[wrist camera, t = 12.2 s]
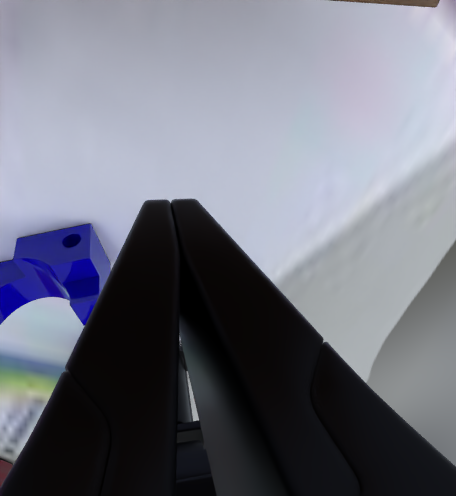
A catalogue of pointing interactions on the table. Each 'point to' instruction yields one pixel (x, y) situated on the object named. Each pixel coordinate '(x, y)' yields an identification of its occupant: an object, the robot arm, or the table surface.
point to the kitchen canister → (4, 470)
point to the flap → (399, 2)
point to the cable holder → (55, 270)
